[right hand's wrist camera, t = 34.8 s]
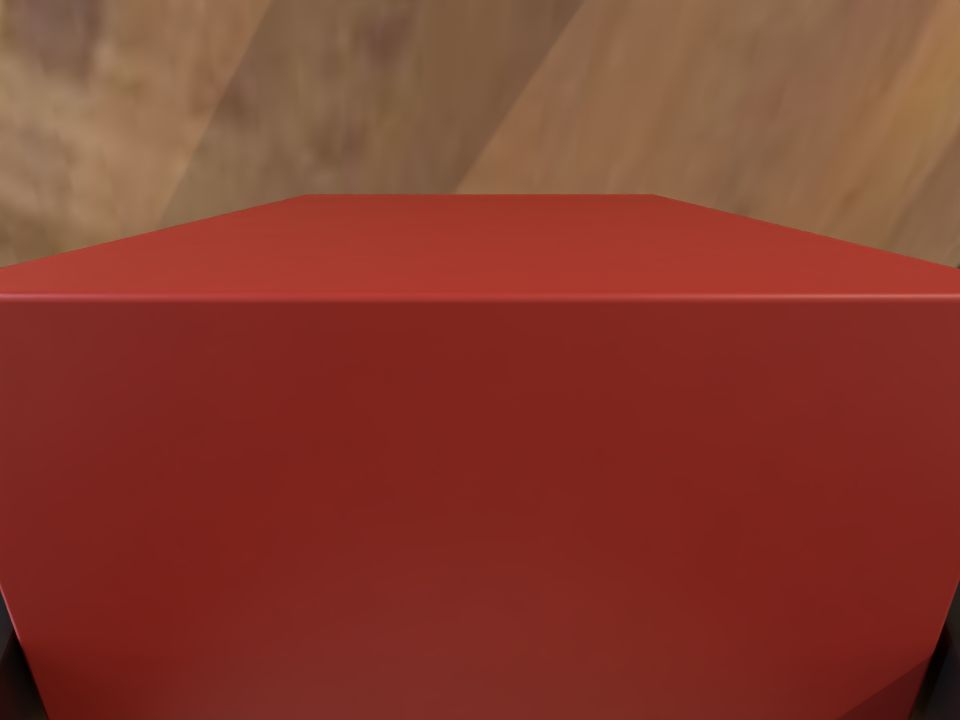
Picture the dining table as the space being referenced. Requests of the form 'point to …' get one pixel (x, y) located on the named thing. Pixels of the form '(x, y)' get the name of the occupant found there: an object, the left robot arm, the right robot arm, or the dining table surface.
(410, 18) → the dining table surface
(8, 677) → the right robot arm
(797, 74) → the dining table surface
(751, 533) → the block
